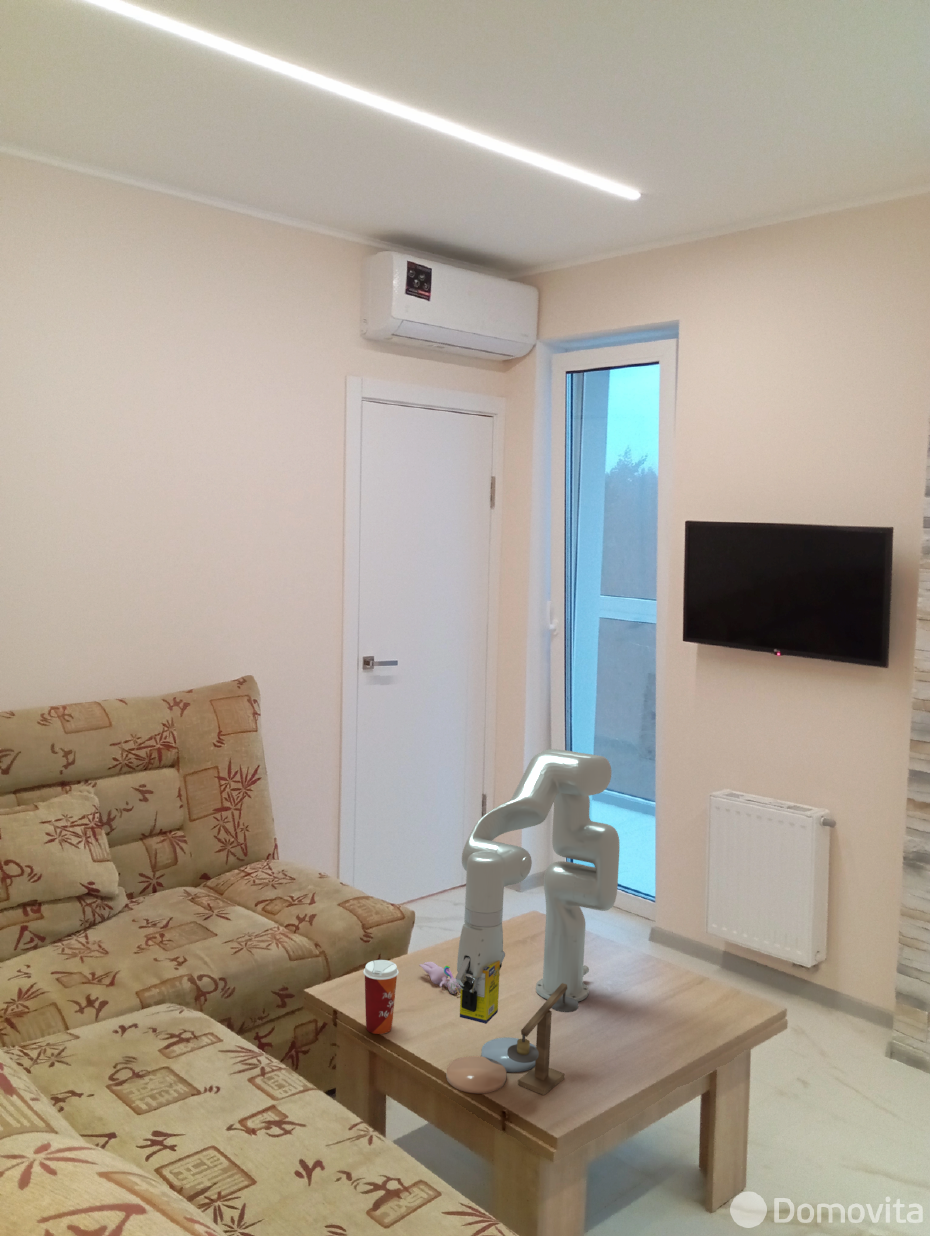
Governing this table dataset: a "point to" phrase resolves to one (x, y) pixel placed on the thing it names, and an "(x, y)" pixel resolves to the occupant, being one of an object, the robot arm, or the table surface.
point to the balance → (541, 1044)
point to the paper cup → (380, 995)
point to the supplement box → (484, 995)
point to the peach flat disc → (476, 1074)
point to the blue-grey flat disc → (504, 1054)
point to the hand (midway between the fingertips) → (479, 1002)
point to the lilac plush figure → (441, 976)
